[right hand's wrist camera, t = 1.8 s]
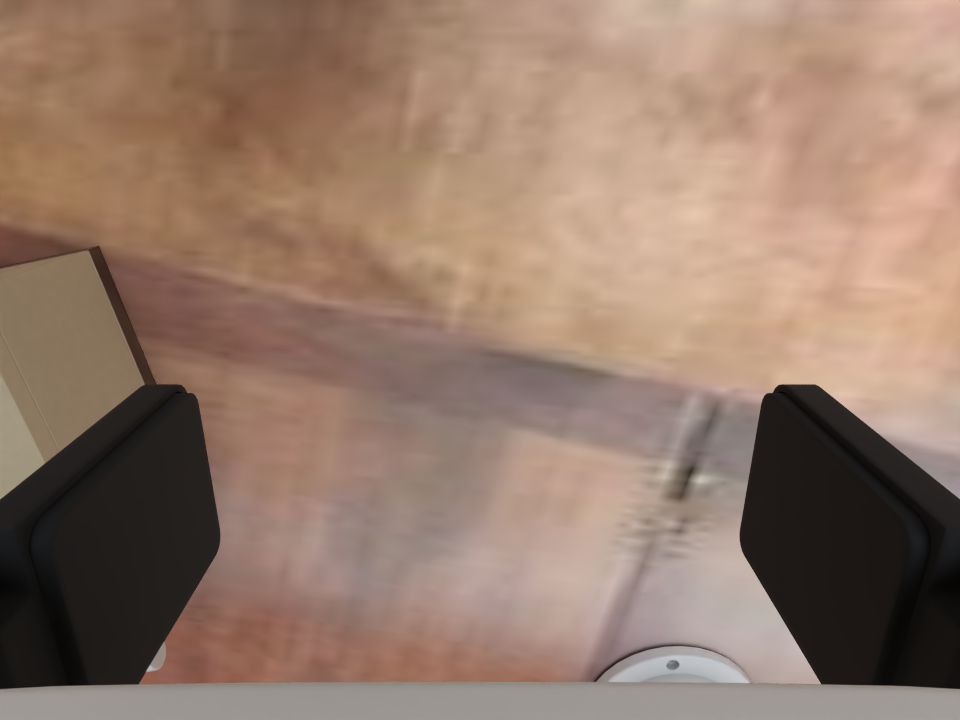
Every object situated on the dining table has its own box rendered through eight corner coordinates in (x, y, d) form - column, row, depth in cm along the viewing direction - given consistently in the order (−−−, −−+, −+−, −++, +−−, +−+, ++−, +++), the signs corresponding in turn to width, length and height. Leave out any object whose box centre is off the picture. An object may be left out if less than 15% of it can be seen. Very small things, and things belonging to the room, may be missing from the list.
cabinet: (195, 479, 41) (109, 590, 31) (37, 508, 41) (-93, 625, 32) (98, 246, 35) (-40, 294, 26) (-80, 283, 36) (-279, 344, 27)
